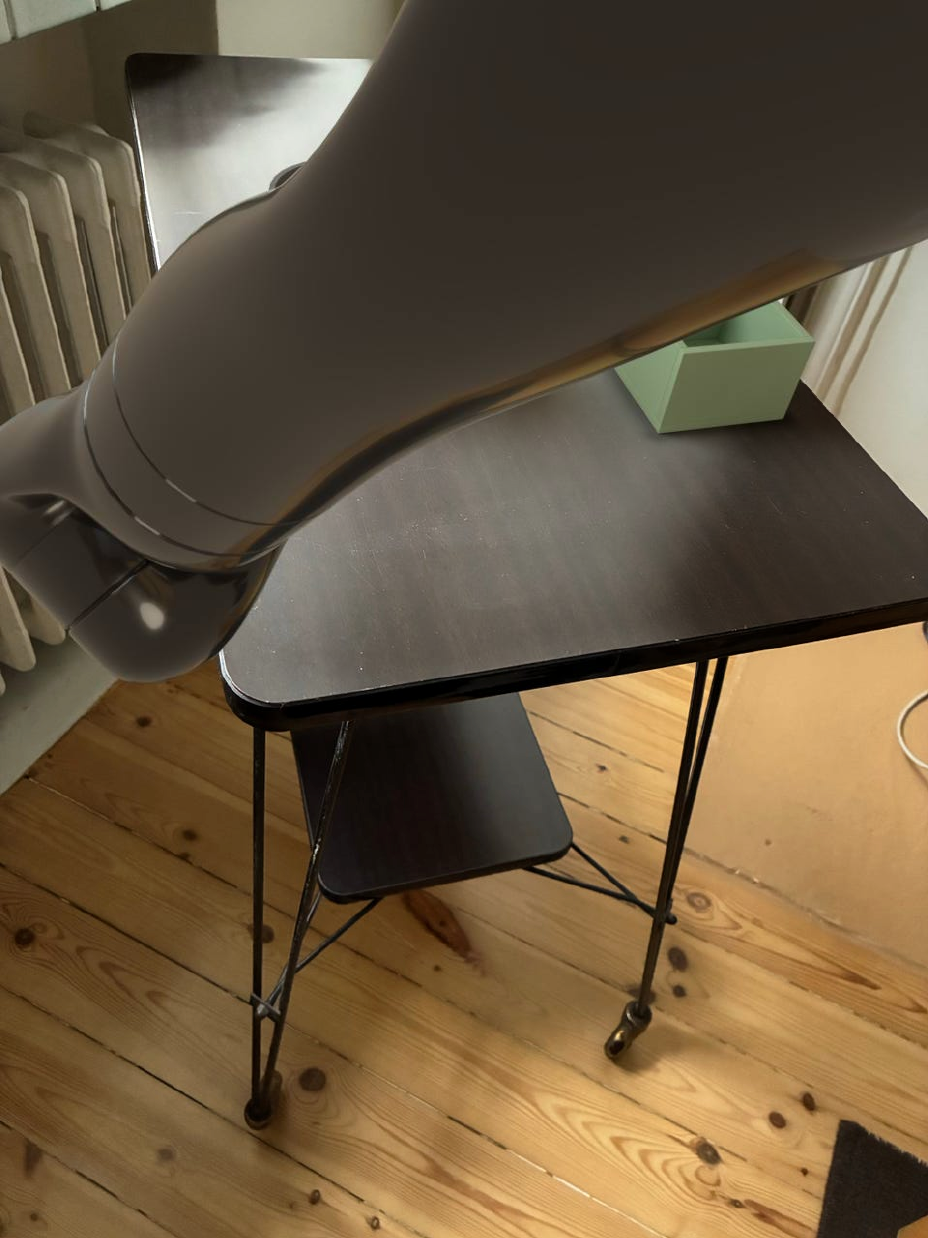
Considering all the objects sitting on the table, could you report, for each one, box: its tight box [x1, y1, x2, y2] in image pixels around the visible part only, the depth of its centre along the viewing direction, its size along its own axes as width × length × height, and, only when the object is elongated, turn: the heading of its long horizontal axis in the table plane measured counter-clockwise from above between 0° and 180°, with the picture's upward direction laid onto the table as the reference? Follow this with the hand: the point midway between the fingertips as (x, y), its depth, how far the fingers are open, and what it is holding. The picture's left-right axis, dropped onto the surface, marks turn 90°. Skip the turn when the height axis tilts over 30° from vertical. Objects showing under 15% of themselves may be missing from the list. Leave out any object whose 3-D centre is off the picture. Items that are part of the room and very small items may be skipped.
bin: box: [614, 300, 816, 434], centre depth 85 cm, size 12×12×8 cm
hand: (538, 213), depth 56 cm, fingers closed on ink cartridge box, 6 cm apart
